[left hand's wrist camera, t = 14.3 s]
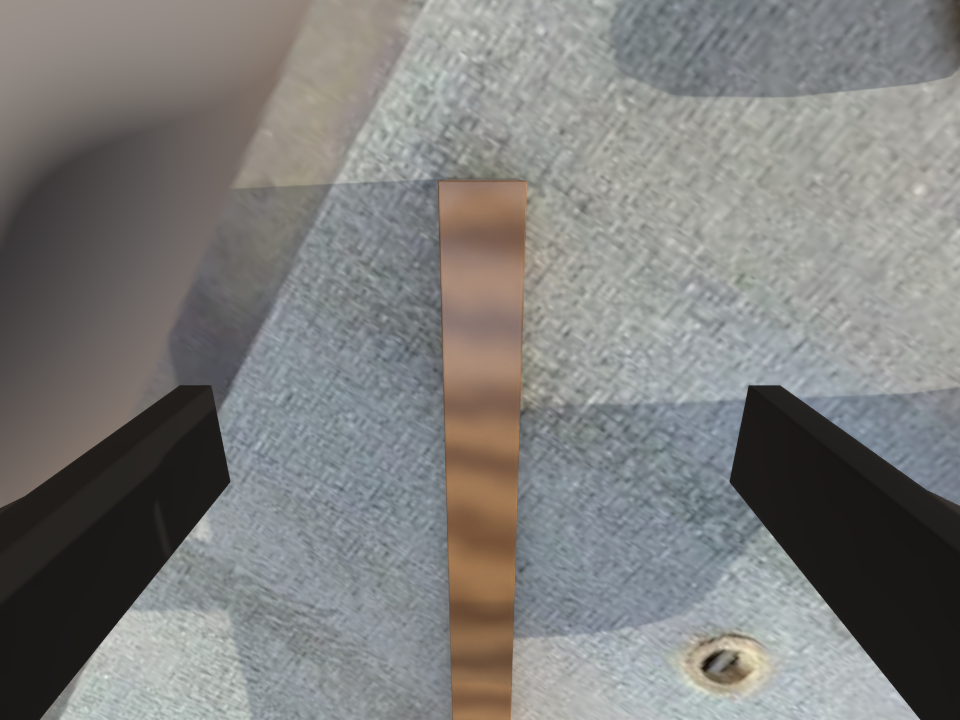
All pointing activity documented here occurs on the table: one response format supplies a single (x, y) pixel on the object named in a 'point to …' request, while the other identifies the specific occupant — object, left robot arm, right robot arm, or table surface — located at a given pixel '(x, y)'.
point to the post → (482, 430)
